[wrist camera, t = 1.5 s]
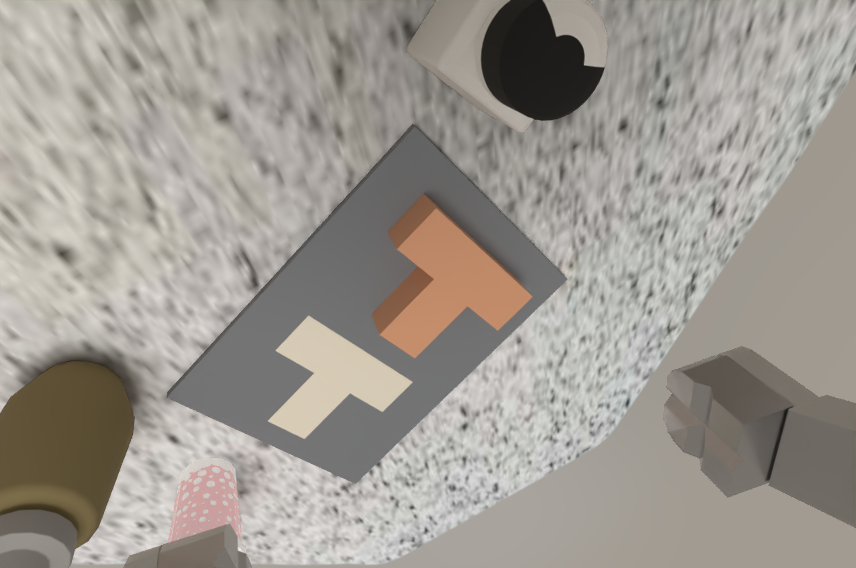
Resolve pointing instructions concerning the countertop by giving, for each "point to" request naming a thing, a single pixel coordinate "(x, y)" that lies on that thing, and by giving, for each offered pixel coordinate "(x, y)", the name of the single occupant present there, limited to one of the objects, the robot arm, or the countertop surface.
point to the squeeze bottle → (60, 462)
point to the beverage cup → (206, 500)
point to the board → (357, 324)
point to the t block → (443, 280)
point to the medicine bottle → (515, 55)
